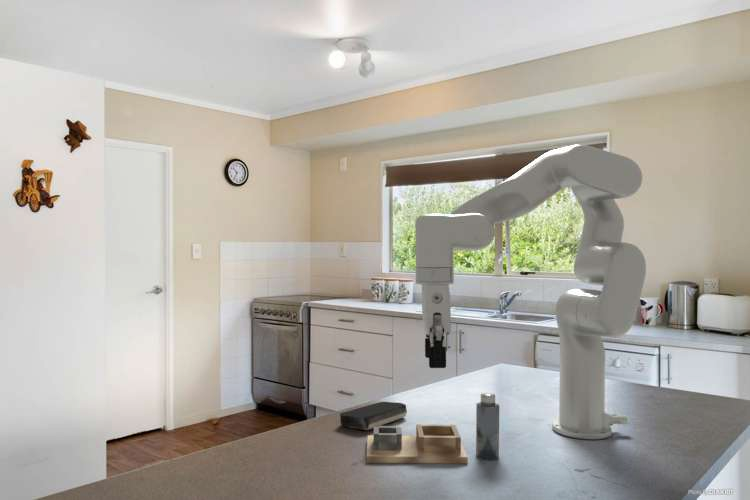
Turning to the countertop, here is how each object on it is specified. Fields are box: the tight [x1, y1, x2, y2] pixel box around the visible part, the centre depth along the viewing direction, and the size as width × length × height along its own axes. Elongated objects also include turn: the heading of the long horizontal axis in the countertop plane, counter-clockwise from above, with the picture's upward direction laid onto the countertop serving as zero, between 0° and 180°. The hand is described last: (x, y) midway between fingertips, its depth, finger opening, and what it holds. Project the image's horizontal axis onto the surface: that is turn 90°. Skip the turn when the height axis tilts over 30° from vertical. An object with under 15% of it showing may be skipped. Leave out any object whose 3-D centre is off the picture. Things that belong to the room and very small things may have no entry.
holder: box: [366, 424, 469, 465], centre depth 114 cm, size 19×12×4 cm, turn 90°
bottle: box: [475, 392, 500, 461], centre depth 112 cm, size 4×4×12 cm
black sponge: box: [339, 401, 408, 431], centre depth 134 cm, size 16×8×4 cm, turn 139°
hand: (435, 362), depth 114 cm, fingers open, 9 cm apart
